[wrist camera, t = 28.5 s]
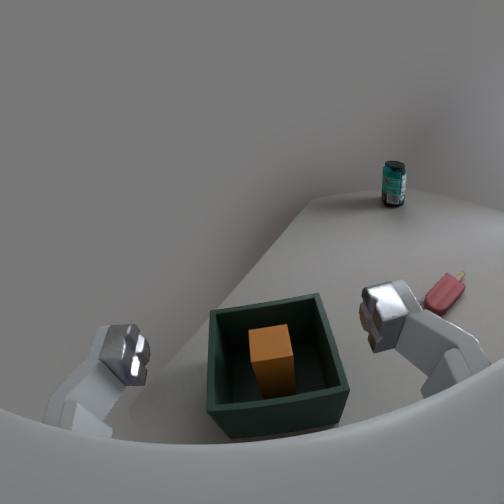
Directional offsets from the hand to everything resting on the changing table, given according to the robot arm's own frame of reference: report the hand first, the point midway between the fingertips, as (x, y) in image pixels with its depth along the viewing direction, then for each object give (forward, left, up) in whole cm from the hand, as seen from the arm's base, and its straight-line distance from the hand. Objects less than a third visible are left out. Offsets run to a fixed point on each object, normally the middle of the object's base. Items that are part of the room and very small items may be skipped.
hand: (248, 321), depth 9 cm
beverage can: (+41, +59, -30) cm, 78 cm away
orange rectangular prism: (0, +12, -29) cm, 32 cm away
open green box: (0, +12, -30) cm, 32 cm away
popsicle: (+35, +22, -30) cm, 51 cm away
